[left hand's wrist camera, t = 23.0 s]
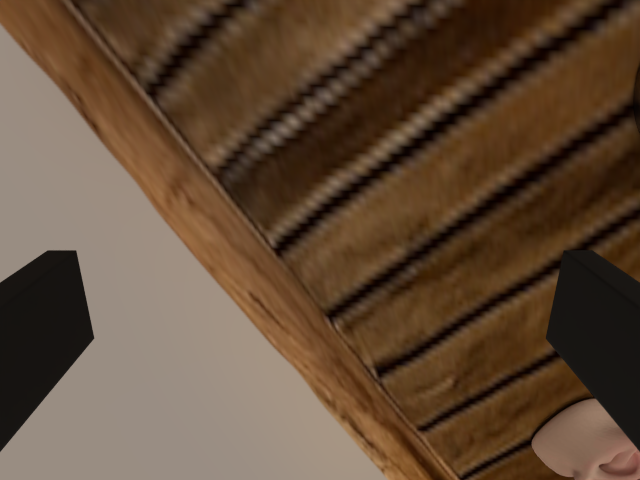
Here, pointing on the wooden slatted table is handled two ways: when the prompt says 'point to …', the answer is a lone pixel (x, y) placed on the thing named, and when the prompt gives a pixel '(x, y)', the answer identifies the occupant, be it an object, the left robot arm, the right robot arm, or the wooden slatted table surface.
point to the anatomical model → (587, 445)
